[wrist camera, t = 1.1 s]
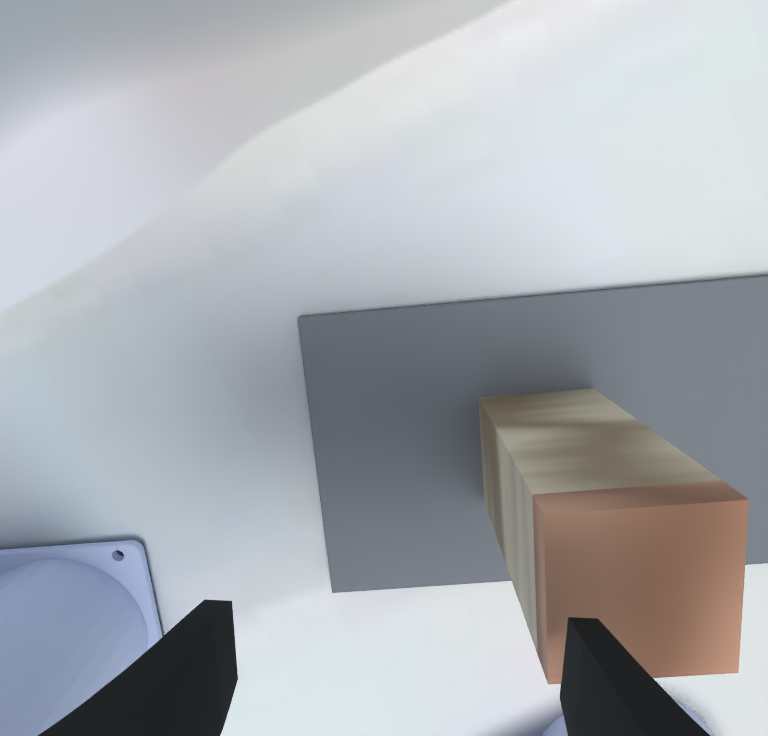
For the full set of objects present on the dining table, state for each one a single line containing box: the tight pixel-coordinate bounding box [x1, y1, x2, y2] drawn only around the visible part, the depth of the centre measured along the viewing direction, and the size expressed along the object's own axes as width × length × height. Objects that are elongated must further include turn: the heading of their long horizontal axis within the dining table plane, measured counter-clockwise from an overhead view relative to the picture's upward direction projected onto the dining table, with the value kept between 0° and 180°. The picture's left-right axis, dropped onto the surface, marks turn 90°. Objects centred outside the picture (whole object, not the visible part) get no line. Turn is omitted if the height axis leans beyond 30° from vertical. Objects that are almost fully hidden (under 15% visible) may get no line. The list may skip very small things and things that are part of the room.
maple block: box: [479, 388, 749, 684], centre depth 17 cm, size 4×4×10 cm
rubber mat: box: [298, 275, 768, 593], centre depth 22 cm, size 22×12×1 cm, turn 95°
